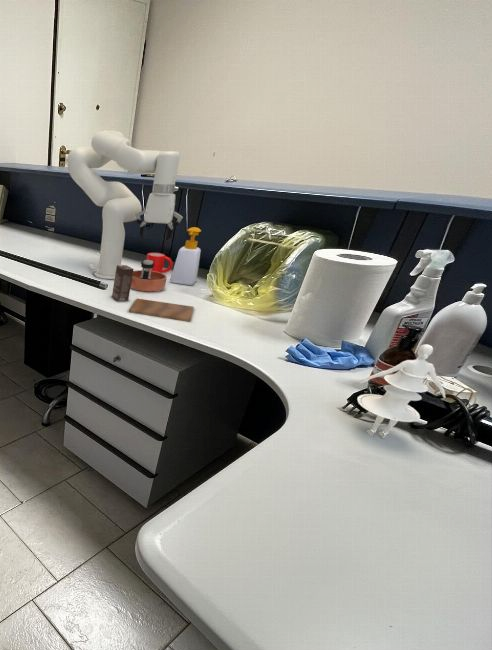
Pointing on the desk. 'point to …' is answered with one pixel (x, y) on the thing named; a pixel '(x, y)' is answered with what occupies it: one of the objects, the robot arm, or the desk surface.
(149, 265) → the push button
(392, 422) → the figurine
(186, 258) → the soap bottle
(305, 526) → the desk surface
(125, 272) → the box
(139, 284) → the bowl
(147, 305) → the cork mat
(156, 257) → the mug
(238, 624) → the desk surface
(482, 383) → the desk surface
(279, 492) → the desk surface
